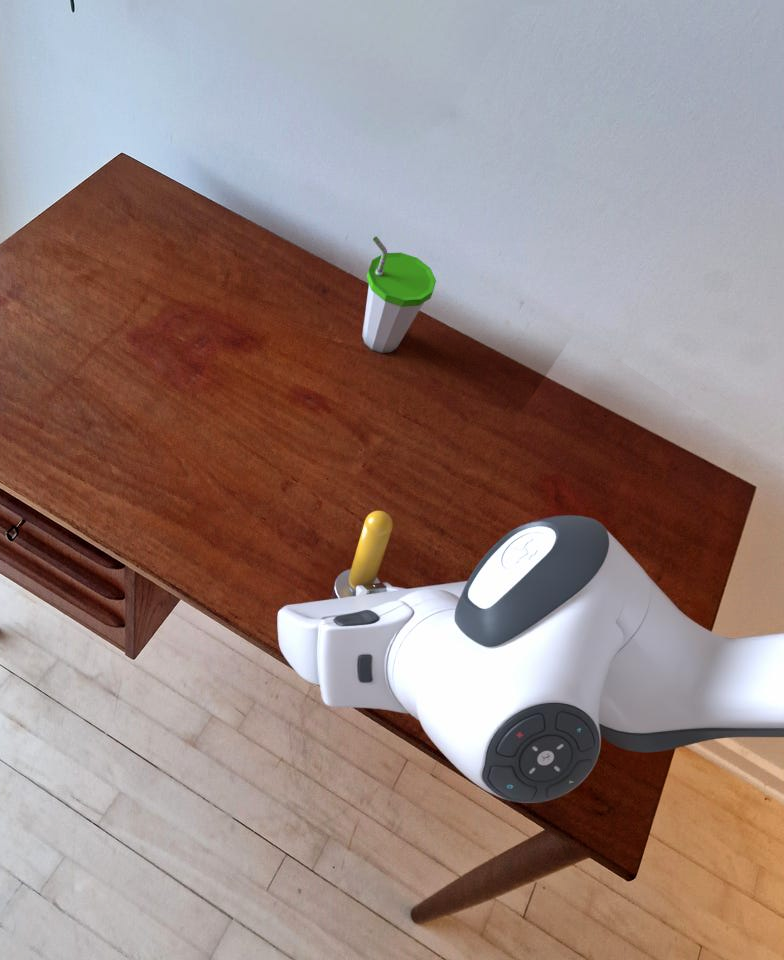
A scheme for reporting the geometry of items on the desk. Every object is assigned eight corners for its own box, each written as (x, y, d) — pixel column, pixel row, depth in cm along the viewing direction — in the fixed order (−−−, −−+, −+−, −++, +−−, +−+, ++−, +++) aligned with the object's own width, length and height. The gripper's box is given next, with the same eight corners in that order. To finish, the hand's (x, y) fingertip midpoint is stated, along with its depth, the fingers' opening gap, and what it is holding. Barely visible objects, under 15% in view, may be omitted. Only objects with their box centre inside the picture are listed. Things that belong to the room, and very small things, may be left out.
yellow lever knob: (385, 608, 82) (418, 515, 71) (357, 638, 79) (387, 546, 69) (348, 581, 83) (375, 486, 73) (319, 609, 81) (343, 515, 70)
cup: (422, 337, 104) (461, 242, 92) (391, 373, 100) (427, 279, 88) (369, 306, 106) (400, 209, 93) (337, 340, 101) (364, 243, 89)
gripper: (557, 593, 65) (475, 545, 78) (302, 630, 60) (261, 572, 73) (555, 669, 67) (475, 609, 80) (306, 711, 61) (264, 639, 74)
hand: (370, 591), depth 76 cm, fingers closed
